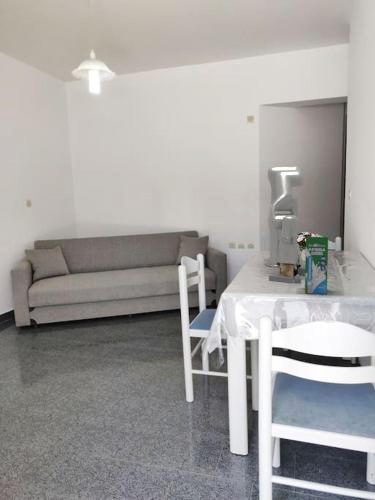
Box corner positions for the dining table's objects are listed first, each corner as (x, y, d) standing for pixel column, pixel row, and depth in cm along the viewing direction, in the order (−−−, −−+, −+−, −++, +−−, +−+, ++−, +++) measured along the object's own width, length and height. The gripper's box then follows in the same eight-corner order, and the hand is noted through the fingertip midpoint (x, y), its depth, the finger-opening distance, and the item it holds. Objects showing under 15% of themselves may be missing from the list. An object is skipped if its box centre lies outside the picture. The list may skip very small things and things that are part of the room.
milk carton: (326, 289, 174) (328, 234, 171) (326, 294, 166) (328, 236, 162) (305, 288, 177) (306, 234, 174) (304, 293, 169) (305, 236, 165)
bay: (268, 282, 190) (268, 272, 189) (284, 275, 206) (284, 266, 205) (298, 286, 181) (298, 275, 181) (312, 278, 197) (312, 268, 196)
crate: (280, 278, 195) (280, 264, 194) (285, 276, 199) (285, 262, 198) (292, 279, 191) (292, 265, 190) (297, 277, 196) (297, 263, 195)
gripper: (270, 240, 195) (269, 275, 197) (303, 242, 184) (303, 279, 187) (276, 239, 201) (275, 273, 203) (309, 241, 190) (308, 276, 193)
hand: (288, 275), depth 195 cm, fingers closed on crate, 6 cm apart
